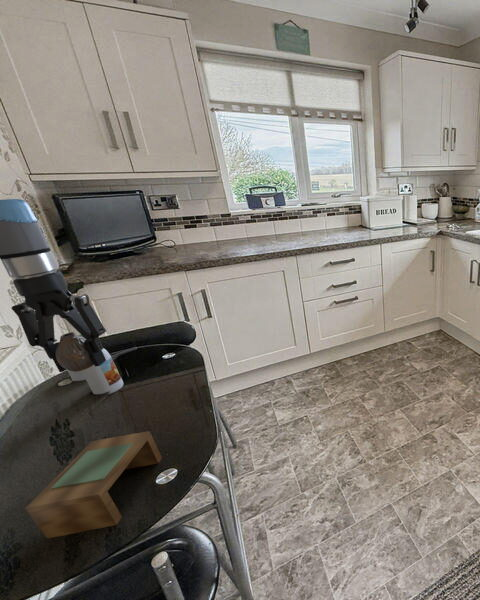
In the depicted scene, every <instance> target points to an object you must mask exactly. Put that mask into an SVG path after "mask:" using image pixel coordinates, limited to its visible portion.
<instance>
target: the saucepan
mask: <svg viewBox="0 0 480 600" xmlns="http://www.w3.org/2000/svg"><path fill="white" fill-rule="evenodd" d="M133 351H137V347H136V346H134V347H131V348H128V349H126V350H122V351H119V352H117V353H115V354H113V355H112V354H110V356H111V358H112V360H113V361H115V360H116V359H117V358H119V356H122V355H124V354H127V353H131V352H133ZM65 371H67V373H68V375H69V376H70V378H71V381H73V382H82V381H86V379H85V377H84V375H83V373H82V371H77V372H73V371H69V370H65Z"/></svg>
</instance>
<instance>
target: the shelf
mask: <svg viewBox="0 0 480 600" xmlns="http://www.w3.org/2000/svg"><path fill="white" fill-rule="evenodd" d="M153 437H154V436H152V433H151V431H150V430H147V431H142V432H137V433H136V432H135V433H130V434H125V435H119V436H114V437H107V438H101V439H95V440H92V441H91V442H89V443H88V444H87V446H86V447H85V448H83V450H82V451H81V452H80V453H78V455H76V457H74V458H73V459H72V461H71V462H70V463H68V465H66V466H65V467H64V469H63V470H62V471H61V472H59V473H58V474H57V476H55V478H54V479H53V480H51V482H49V484H47V486H46V487H44V489H43V490H42V491H41V492H40V493H39V494H38V495H36V497H35V498H34V499H33V500H32V501H30V503H29V504H28V505H27V506H26V507H25V508H24V509H25V511H26V512H27V513H28V514H29V516H30V517H31V518H32V520H33V521H34V523H35V524H36V526H37V527H38V529H39V530H40V531H41V532H42V535H44V537H45V538H46V539H49V540H50V539H52V538H58V537H64V536H68V535H72V534H73V535H74V534H77V533H82V532H87V531H93V530H98V529H103V528H108V527H113V526H114V527H115V526H117V525H118V524H119V523H120V521H121V519H122V518H123V516H122V515H121V512H120V511H119V509H118V507H117V505H116V504H115V502H114V500H113V499H112V497H111V496H110V493H109V492H108V491H109V490H110V489H111V488H112V486H113V485H114V484H115V483H116V481H117V480H118V479H119V477H120V476H121V475H122V473H123V472H124V471H125V470H130V469H136V468H142V467H145V466H146V467H147V466H152V465H158V464H159V463H160V462H161V461H162V459H163V457H162V455H161V453H160V451H159V448H158V446H157V444H156V442H155V439H154V438H153Z"/></svg>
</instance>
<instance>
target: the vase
mask: <svg viewBox="0 0 480 600" xmlns="http://www.w3.org/2000/svg"><path fill="white" fill-rule="evenodd" d="M79 335H80V334H79ZM79 335H78V334H77V333H76V332H74V331H73V332H67V333H64V334H62V335H60V337H59V341H58V342H59V344H58V346H57V348H56V352H55V354H56V359H57V361H58V363H59V364H60V365H61V366H62V367H63V368H64V369H66V370H69V371H73V372H77V371H82V370H85V369H87V368H90V367H91V366H93V365H94V363H93V361H92V359H91V357H90V355H89V353H88V351H87V349H86V347H85V345H84V343H83V342H84V341H85V340H86V339H85V338H83V337H81V336H79ZM66 370H65V371H66Z"/></svg>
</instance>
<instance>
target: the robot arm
mask: <svg viewBox="0 0 480 600" xmlns="http://www.w3.org/2000/svg"><path fill="white" fill-rule="evenodd" d="M0 261H1V264H2V265H3V267H4V269H5V271H6V272H7V275H8V277H10V278H12V279H13V281H12V283H13V285H14V288H15V289H16V291H17V293H18V294H19V296H20V297H24V302H20V303H18V304H17V303H16V304H15V305H13V306H11V310H12V311H13V313H15V314H16V316H17V318H18V319H19V322H20V325H21V327H22V329H23V332H24V334H25V337H26V340H27V342H28V344H29V346H31V347H41V348H42V349H43V350H44V351H45V352H44V353H46V355H47V357H48V358H49V359H50V360H52V361H53V363H54V365H55V366H56V368H57V370H58V372H59V373H63V372H65V371H66V369H64V368H63V367H62V366H61V365H60V364H59V363H58V361H57V359H56V354H55V352H56V348H57V346H58V344H59V342H60V341H58V339H56V338H55V323H54V321H55V320H54V317H55V316H59V317H60V319H64V320H65V321H67V323H69V324H70V325H71V327H73V328H74V329H75V330H76V332H77V333H79V335H82V336H83V337H84V338H85V339H86V340H85V341H84V342H83V343H84V345H85V347H86V349H87V351H88V353H89V355H90V357H91V359H92V361H93V363H94V365H95V367H96V366H100V365H101V364H102V363H104V362H105V361H106V359H105V357H104V354H103V352H102V349H103V348H104V346H103V344H102V342H101V339H100V336H102V335H103V334H105V333H106V332H107V329H106V328H105V326H104V325H103V323H102V321H101V320H100V318H99V316H98V314H97V313H96V312H95V310H94V308H93V307H92V304H91V302H90V296H89V295H88V294H86V293H84V294H82V295H76V294H72V293H71V292H70V290H69V289H68V282H67V280H66V278H65V276H64V274H63V272H62V271H60V270H58V269H59V268H60V266H59V264H58V261H57V260H56V257H55V256H54V253H53V251H52V249H51V248H50V246H49V243H48V242H47V239H46V237H45V235H44V233H43V231H42V227H41V226H40V223H39V219H38V218H36V215H35V214H34V212H33V210H32V209H31V207H30V205H29V204H28V202H27V201H25V200H23V199H20V198H7V199H0Z"/></svg>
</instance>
